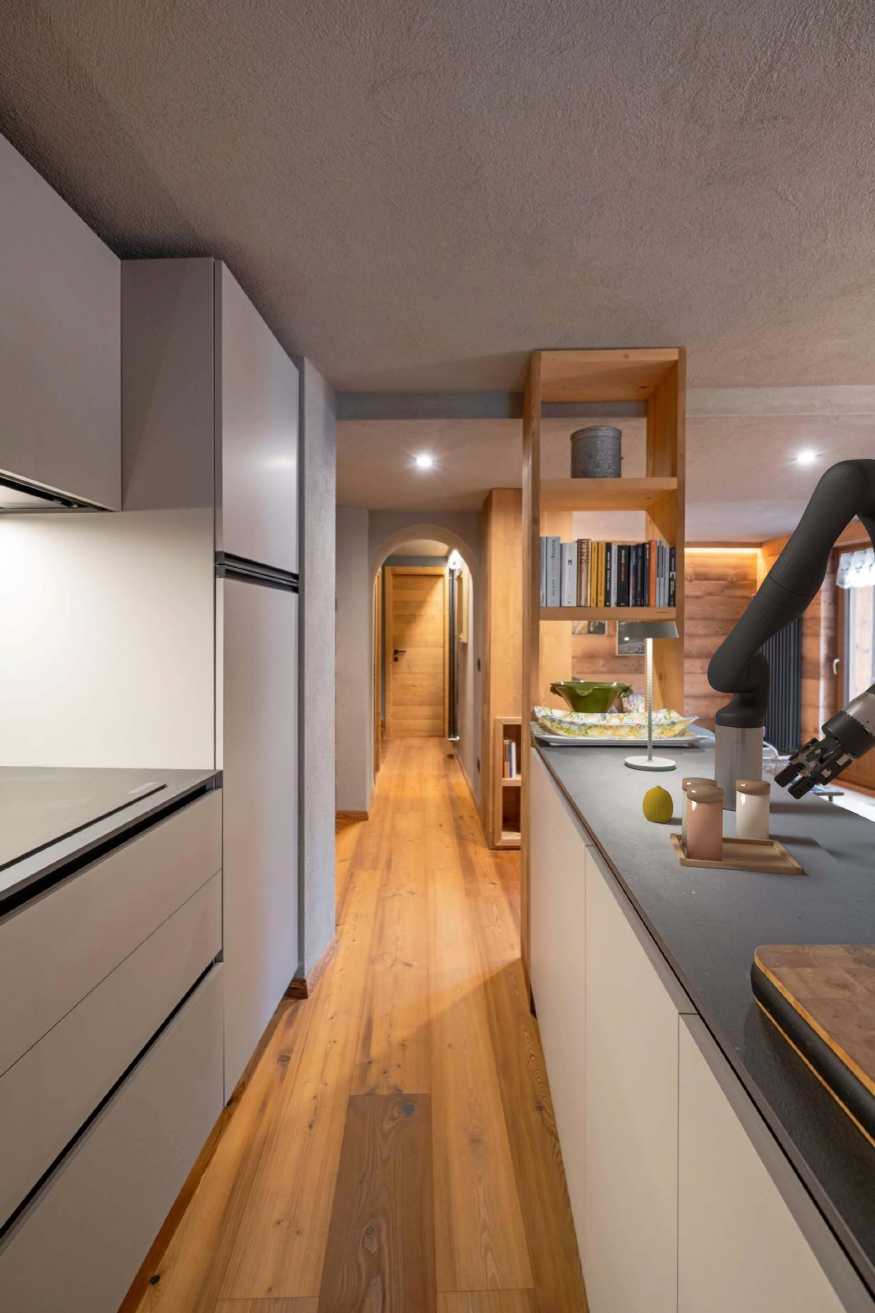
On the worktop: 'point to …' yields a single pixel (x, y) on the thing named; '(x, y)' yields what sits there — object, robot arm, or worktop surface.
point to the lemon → (658, 805)
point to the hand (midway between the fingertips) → (784, 789)
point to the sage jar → (686, 783)
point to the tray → (744, 856)
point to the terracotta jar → (704, 822)
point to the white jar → (752, 808)
